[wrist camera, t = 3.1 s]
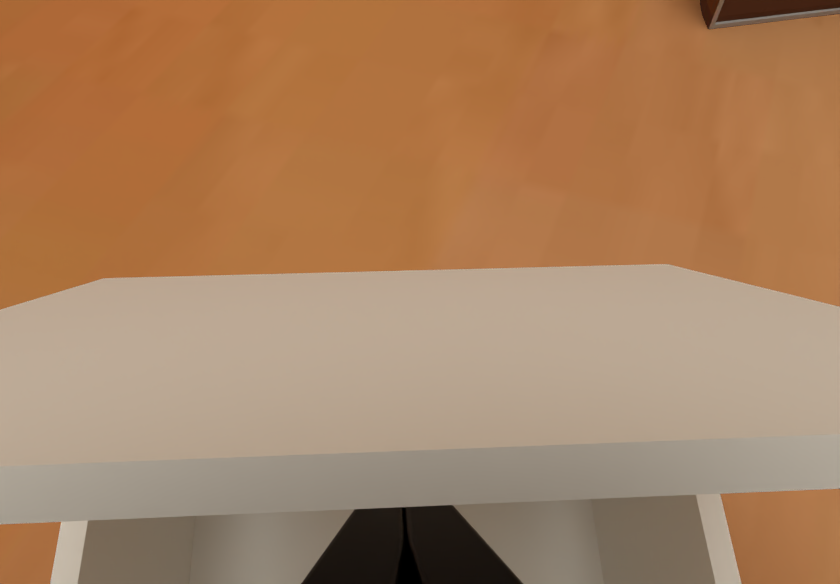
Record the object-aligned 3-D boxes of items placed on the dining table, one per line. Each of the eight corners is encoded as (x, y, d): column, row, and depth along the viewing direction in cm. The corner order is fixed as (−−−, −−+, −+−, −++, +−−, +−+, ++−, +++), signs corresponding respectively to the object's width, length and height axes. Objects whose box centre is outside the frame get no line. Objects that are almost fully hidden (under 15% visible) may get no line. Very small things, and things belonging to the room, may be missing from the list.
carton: (650, 795, 18) (816, 898, 11) (150, 827, 17) (-18, 959, 10) (585, 396, 23) (671, 288, 16) (194, 410, 22) (100, 304, 15)
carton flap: (1277, 469, 5) (1284, 416, 5) (-580, 548, 4) (-592, 489, 4) (666, 281, 16) (667, 263, 16) (105, 296, 15) (104, 278, 15)
